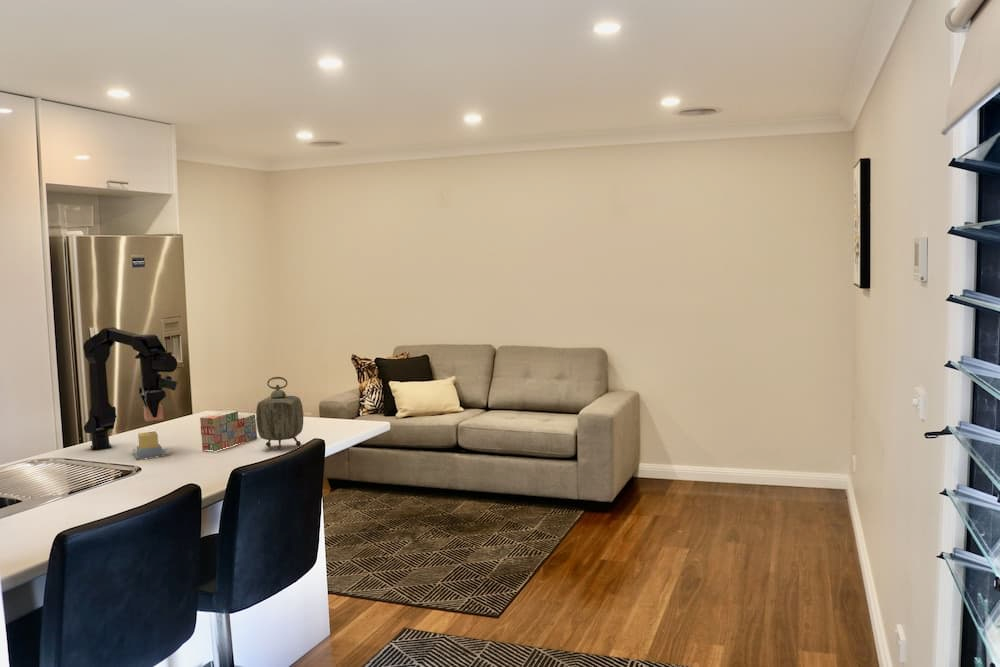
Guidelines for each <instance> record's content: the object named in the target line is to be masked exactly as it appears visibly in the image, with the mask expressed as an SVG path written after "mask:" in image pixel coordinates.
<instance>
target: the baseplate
mask: <svg viewBox="0 0 1000 667" xmlns="http://www.w3.org/2000/svg"><path fill="white" fill-rule="evenodd" d="M158 446H159V447H154V448H147V449H141V448H140V447H139V445H137V446H136V452H135V451H134V452H132V453H131V455H132V457H133V456H134V457H133V458H134V460H135V461H139V460H138V459H142V460H146V459H145V458H148V459H151V458H150V457H155V458H157V457H156V456H162V455H168V453H167V452H166V450H165V449H163V448H162V446H161V445H160V444H159V443H158ZM162 457H163V456H162Z"/></svg>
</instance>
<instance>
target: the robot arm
mask: <svg viewBox="0 0 1000 667" xmlns="http://www.w3.org/2000/svg"><path fill="white" fill-rule="evenodd" d="M115 343H118V344H123V345H125V346H126V345H127V346H129V347H131V348H132V349H133V351H136V352H138V353H137V355H136V356H135V357H134V358H135V359H138V360H139V365H140V367H139V368H140V374H139V378H140V380H141V384H140V385H139V386H138V387H137V394H138V395H139V397H140V398H141V400H142V402H143V404H144V406H148V408H149V410H150V412H151V414H152V416H153V417H157V413H158V407H159V404H160V402H162V401H163V400H164V399H165V398H167V395H166V391H165V390H164V389H167V390H168V389H169V390H172V391H176V389H177V386H178V381H177V380H175V379H173V378H172V376H171V375H165V376H164V377H162V374H160V373H173V372H175V371H176V369H177V367H178V361H177V358H176V357H175V356H173V354H172V351H167V350H166V348H165V347H164V344H162V342H161V340H160V339H159V336H158V335H157V334H152V333H151V334H149V333H148V334H139V333H138V334H137V333H133V332H131V331H128V330H127V331H126V330H123V329H119V328H116V327H114V326H113V327H105V328H102V329H100V331H99V332H98V333H96V334H94V335H92V336H91V337H89V339H86V340H85V342H83V344H82V345H83V346H82V347H83V348H82V349H83V352H84V357H85V359H86V360H87V362H89V364H90V374H91V375H90V376H91V377H90V378H91V387H92V388H91V389H92V400H93V403H92V405H91V407H90V410H89V412H88V414H89V415H88V420H87V422H86V423H85V425H84V426H83V431H84V433H86V434H90V438H91V439H90V440H91V445H90V449H91V451H95V450H96V451H97V450H103V449H110V448H112V444H111V443H110V437H109V436H110V434H109V430H114V429H115V423H116V419H117V414H116V412H117V411H116V410H117V409H116V406H112V404H111V403H110V401H109V400H110V399H109V389H108V388H109V387H108V374H107V361H108V359H109V358H110V355H111V348H112V347H113V345H115ZM163 388H164V389H163Z"/></svg>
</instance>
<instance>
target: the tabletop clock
mask: <svg viewBox="0 0 1000 667" xmlns="http://www.w3.org/2000/svg"><path fill="white" fill-rule="evenodd" d="M273 380H281V381H282V380H283V381H284V382H285V385H284V386H283V385H282V386H280V385H279V384H276V386H271V385H270V384H269V383H270V381H273ZM267 386H268V387H269V388H270V389H272V390H273V391H272V392H271V393H270V396H268V397H266V398H264V399H262V400H261V401H259V402H258V403H257V405H256V409H255V410H256V413H255V420H256V430H257V432H258V433H257V434H258V435H259V437H260V439H263V440H266V441H267V442H266V443H265V446H266V447H270V446H271V441H278V445H277V450H282V449H283V445H282V444H281V442H282V441H285V440H291V439H293V440H294V441H295V442H296V443H295V444H296V446H300V445H302V444H301V441H300V440H298V439H297V436H299V435H300V434H301V433H302V431H303V428H304V409H303V403H302V401H301V398H300V397H298V396H296V395H288V394H286V392H285V390H282V389H284V388H286V387H287V386H288V380H287V379H286V378H285V377H282V376H274V377H271V378H269V379H268V380H267Z"/></svg>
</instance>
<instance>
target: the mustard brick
mask: <svg viewBox="0 0 1000 667" xmlns="http://www.w3.org/2000/svg"><path fill="white" fill-rule="evenodd" d="M137 435H138V446H139V447H140V448H141V449H147V448H154V447H159V446H158V444H159V438H158V437H159V436H158V433H157V432H156V431H147V432H140V433H137Z"/></svg>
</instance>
